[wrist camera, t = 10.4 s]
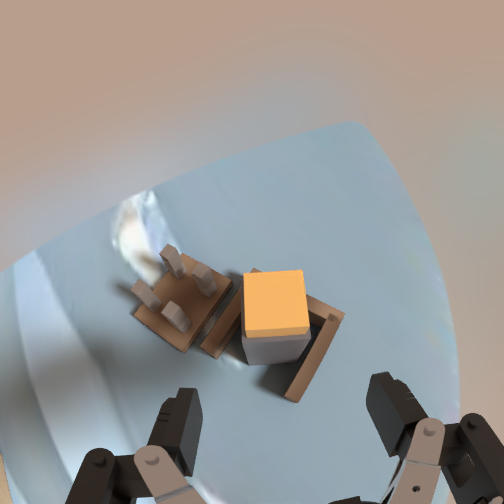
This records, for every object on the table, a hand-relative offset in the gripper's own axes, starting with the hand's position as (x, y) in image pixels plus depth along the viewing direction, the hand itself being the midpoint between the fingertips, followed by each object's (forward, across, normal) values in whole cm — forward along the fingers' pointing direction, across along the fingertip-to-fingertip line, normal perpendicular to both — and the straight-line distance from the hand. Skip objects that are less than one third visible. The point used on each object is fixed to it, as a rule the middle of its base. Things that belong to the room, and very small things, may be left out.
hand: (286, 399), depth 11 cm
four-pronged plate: (+15, +8, +1) cm, 17 cm away
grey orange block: (+12, 0, +4) cm, 12 cm away
